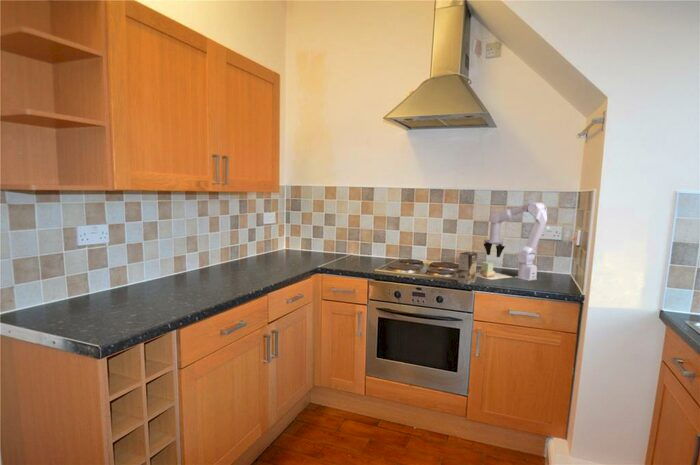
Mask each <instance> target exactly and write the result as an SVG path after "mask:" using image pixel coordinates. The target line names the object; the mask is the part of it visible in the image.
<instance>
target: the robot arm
mask: <svg viewBox="0 0 700 465" xmlns="http://www.w3.org/2000/svg"><path fill="white" fill-rule="evenodd" d="M547 210H548V208H547V206H546V204H544V202H534V201H533V202H530V203H526V204H524V205H523V204H522V205H520V206H519V207H516V208H513V209H510V208H509V209H506V208H505V209H504V210H502V211H501V212H500V211H498V212H496V213H492V214H490V216H489V219H488V220H489V223H490V227H489V228H490V229H489V230H490V231H489V239H483V246H484V249H485V252H486V255H487V256H490V255H491V251H492V246H493V245H495V249H496V258H500V257H501V254H502V252H503V250H504V249H505V248H506V242H503V241H500V239H501V225H502V222H505V221H508V220H512V219H513V217H514V216H516V215H519V214H522V213H525V212H526V213H529V214H530V215H531V216H532V217H533V219H534V220H535V221H534V224H533V227H532V229H531V231H530V234H529V237H528V239H527V241H526V244H525V246H524V247H522V249H521V251H520V252H519V253H518V254H517V261H518V270H517V271H518V272H517V275H515V276H514V278H516V279H517V278H518V279H521V280H523V281H524V280H525V281H536V280H537V275H538V266H536V265H535V264H533V263H534V262H533V261H535V260H536V253H537V251H536V247H537V245H538V243H539V240H540V238H541V236H542V233H543V231H544V229H545V226H546V224H547V222H548V213H547Z"/></svg>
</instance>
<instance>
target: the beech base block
mask: <svg viewBox="0 0 700 465" xmlns="http://www.w3.org/2000/svg"><path fill="white" fill-rule="evenodd" d="M478 273H479V276H482V277H485V278H484V279H486V278H491V277H494V274H495V273H496V271H495V270H493V271H488V272H487V271H483V270H481V269H479V270H478ZM482 277H481V278H482Z"/></svg>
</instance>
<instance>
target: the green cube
mask: <svg viewBox="0 0 700 465" xmlns="http://www.w3.org/2000/svg"><path fill="white" fill-rule="evenodd" d="M480 270H483V271H487V272H488V271H494V262H489V261H481V268H480Z"/></svg>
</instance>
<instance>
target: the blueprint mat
mask: <svg viewBox="0 0 700 465" xmlns="http://www.w3.org/2000/svg"><path fill="white" fill-rule="evenodd" d="M476 277H479V278H482V279H486V280H490V281H492V280H500V279H508V278H512V276H510V275H507V274H502V273H499V272H495V274H494V277H491V278H485V277H482V276H479V272H476Z"/></svg>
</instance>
